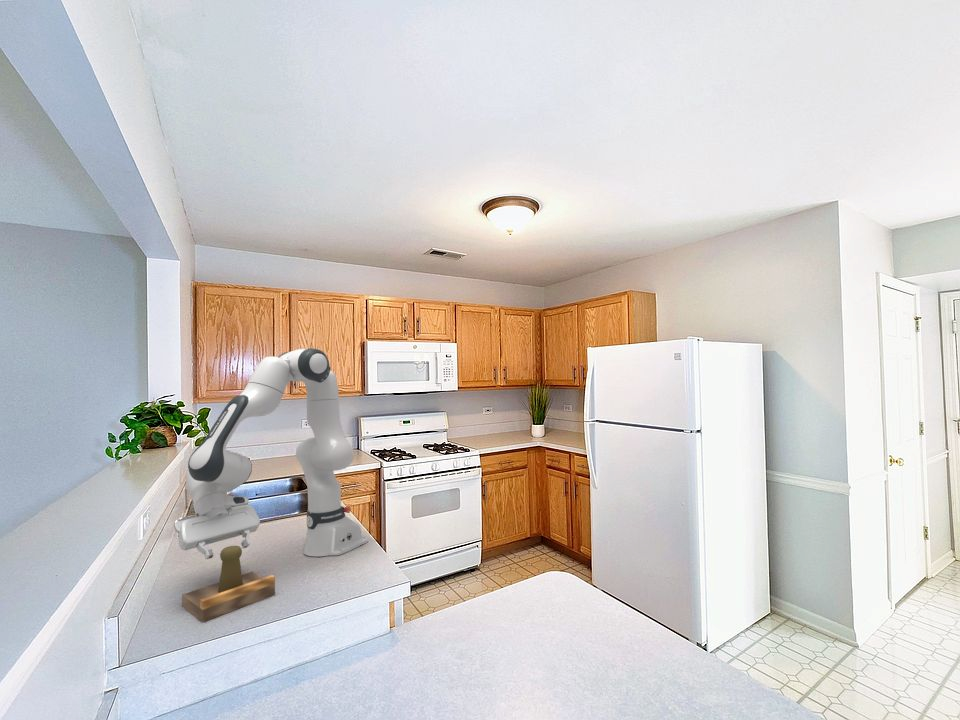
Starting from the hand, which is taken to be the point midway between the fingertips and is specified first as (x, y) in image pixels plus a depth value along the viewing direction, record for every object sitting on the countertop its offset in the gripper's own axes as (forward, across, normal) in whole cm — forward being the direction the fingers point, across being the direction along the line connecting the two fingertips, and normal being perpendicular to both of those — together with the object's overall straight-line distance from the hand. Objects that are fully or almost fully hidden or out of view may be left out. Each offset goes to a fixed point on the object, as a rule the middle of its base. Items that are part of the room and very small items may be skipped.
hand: (228, 551), depth 123 cm
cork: (+8, 0, +6) cm, 10 cm away
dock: (+10, 0, +8) cm, 13 cm away
